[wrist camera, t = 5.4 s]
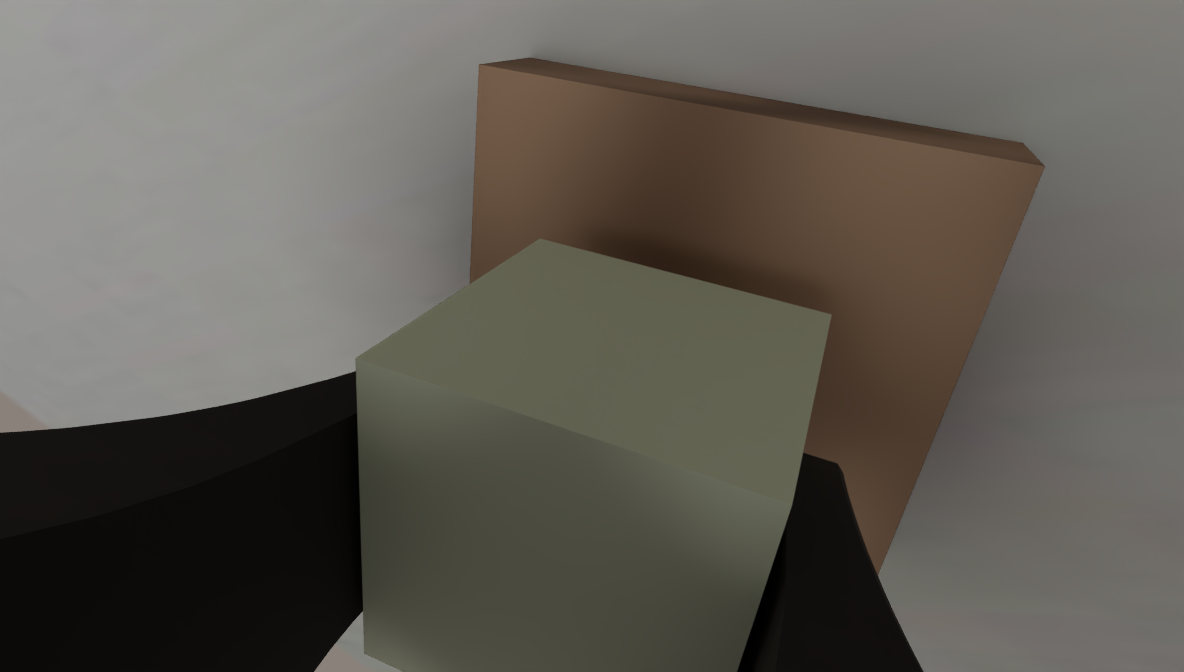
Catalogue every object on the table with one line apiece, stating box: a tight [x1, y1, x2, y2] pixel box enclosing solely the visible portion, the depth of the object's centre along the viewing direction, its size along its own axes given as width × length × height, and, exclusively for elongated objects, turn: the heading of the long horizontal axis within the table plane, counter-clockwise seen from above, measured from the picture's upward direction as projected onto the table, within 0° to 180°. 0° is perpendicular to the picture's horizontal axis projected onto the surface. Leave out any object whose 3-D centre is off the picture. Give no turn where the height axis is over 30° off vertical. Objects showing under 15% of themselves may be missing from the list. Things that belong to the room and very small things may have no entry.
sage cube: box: [356, 239, 832, 672], centre depth 10 cm, size 4×4×4 cm
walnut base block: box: [470, 58, 1045, 575], centre depth 14 cm, size 9×9×2 cm
